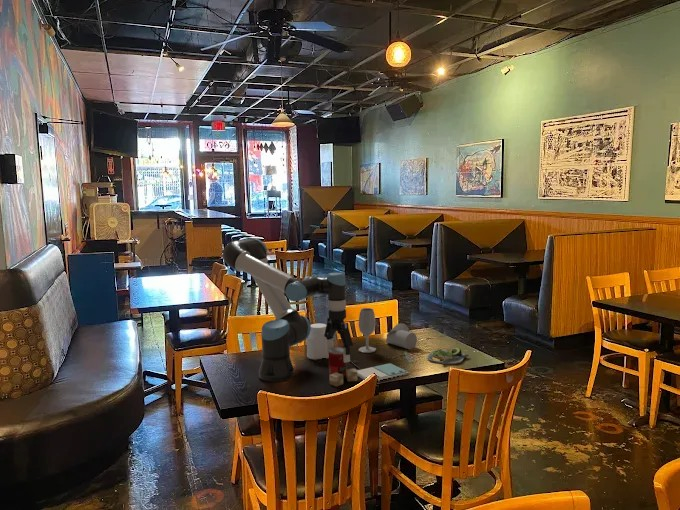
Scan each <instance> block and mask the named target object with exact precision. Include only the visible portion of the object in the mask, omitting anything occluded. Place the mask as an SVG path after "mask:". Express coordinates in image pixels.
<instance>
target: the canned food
mask: <svg viewBox="0 0 680 510" xmlns="http://www.w3.org/2000/svg"><path fill="white" fill-rule="evenodd" d="M346 369H348V362H346V363H344V359H343V347H339V346H336V347H335V346H334V348H331V349H329V358H328V373H329V375H331V374H333V373H339V374H342V375H343V378H344V377H346Z"/></svg>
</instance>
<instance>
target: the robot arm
mask: <svg viewBox="0 0 680 510" xmlns="http://www.w3.org/2000/svg"><path fill="white" fill-rule="evenodd" d="M222 258H223V260H224V262H225V264H226V265H227V266H228V267H230V268H231V269H233V270H235V271H236V272H241V273H242V272H244V273H245V274H246V273H247V274H248V275H250V276H251V277H252V279H253V280H254V282H255V284H256V286H257V287H258V289H259V291H260V292H261V294H262V296H263V298H264V300H265V302H266V303H267V305H268V307H269V308H270V310H271V312H272V314H273V316H274V317H275V319H274V320H269V321H267V322H265V323H264V324H263V325H262V326H261V334H260V336H261V350H262V351H261V353H262V358H261V359H262V360H261V363H260V366H259V369H258V378H259V379H260V380H262V381H265V382H271V383H272V382H273V383H274V382H275V383H279V382H284V381H288V380H291V379H292V378H293V377H294V376H295V368H294V365H293V363H292V360H291V355H290V353H291V352H290V351H291V347H294V346H295V345H297V344H301V343H303V342H304V341H305V340H307V338H308V336H309V335H310V331H311V326H310V325H311V323H310V320H309V319H308V318H307V317H306V316H304V315H301V314H300V312H299V311H298V310H297V309H295V308H292V307H293V306H291V303H290V302H289V301H291V302H297V301H298V302H300V301H302V300H304V299H307V298H311V297H313V296H317V295H324V296H327V308H328V317H327V318H326V319H327V321H326V322H327V323H326V325H327V326H326V330H325V334H324V336H325V337H326V339H327V346H328V355H329V349H331V348H335V345H334V336H335V333H337V334H339V336H340V339H341V342H342V344H343V346H342V348H343V359H344V363H346V362H347V363H350V362H351V347H353V346H354V344H353V343H354V342H353V339H352V335H351V333H350V332H351V331H350V328H349V323H348V322H345V321H344V320H345V319H346V318H347V310H346V307H347V303H346V302H347V300H346V297H347V296H346V275H345V274H344V273H342V272H328V273H327V275H326V276H325V277H323V276H313V275H311V276H305V277H303V279H302V280H301V279H300V278H299V279H298V278H297V277H294V276H292V275H290V274H289V273H286V272H285V271H282V270H280V269H278V268H276V267H274V266H273V265H270V264H269V263H268V261H269V259H268V248H267V246H266V244H265V243H264V242H263V241H262V240H261V239H259V238H251V237H250V238H247V239H241V240H234V241H233V240H231V241H230V242H229V243H227V244H226V245H225V247H223V252H222ZM327 333H328V334H327Z"/></svg>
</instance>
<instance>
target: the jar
mask: <svg viewBox="0 0 680 510" xmlns="http://www.w3.org/2000/svg"><path fill="white" fill-rule="evenodd" d="M310 326H311V331H310V335H309V336H308V338H307V339H306V357H307V359H310V360H321V359H322V358H326V359H329V355H328V346H327V339H326V337H325V336H324V334H325V330H326V326H327V323H326V324H325V323H312V324H310ZM327 334H328V333H327Z"/></svg>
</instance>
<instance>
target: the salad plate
mask: <svg viewBox="0 0 680 510" xmlns="http://www.w3.org/2000/svg"><path fill="white" fill-rule="evenodd" d="M467 357H469V354H465V353H463V352H462V349H461V348H460V347H457V346H456V347H455V346H454V347H451V348H449V350H444V349H434V350H432V351H431V352H430V353H429V354H428V355H427V356H426V358H427V360H429V361H430V362H431V363H434V364H440V365H441V364H442V365H457V364H460V363H462V362H463V360H464V359H466V358H467ZM434 358H435V359H439V360H435V359H434Z"/></svg>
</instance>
